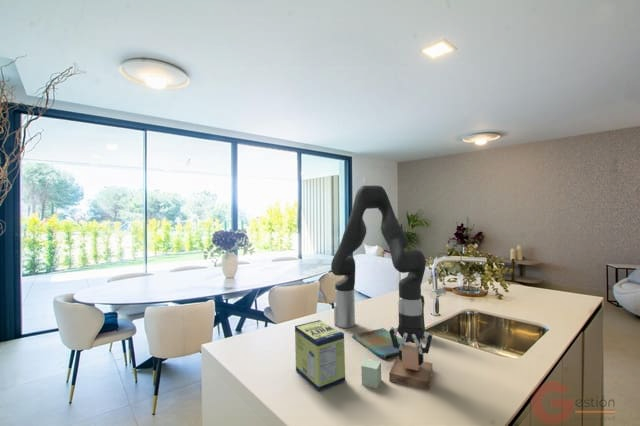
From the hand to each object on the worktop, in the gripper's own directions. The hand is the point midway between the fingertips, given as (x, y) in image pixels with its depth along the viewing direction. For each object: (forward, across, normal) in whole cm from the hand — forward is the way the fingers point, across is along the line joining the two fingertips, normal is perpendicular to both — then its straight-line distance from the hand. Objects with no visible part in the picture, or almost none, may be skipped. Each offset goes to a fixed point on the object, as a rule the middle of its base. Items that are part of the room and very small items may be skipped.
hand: (411, 362), depth 98 cm
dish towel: (+5, -14, +20) cm, 25 cm away
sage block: (+4, -11, -9) cm, 15 cm away
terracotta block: (+1, 0, 0) cm, 1 cm away
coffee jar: (+5, -4, +34) cm, 35 cm away
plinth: (+4, 0, 0) cm, 4 cm away
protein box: (+5, -28, -12) cm, 31 cm away
